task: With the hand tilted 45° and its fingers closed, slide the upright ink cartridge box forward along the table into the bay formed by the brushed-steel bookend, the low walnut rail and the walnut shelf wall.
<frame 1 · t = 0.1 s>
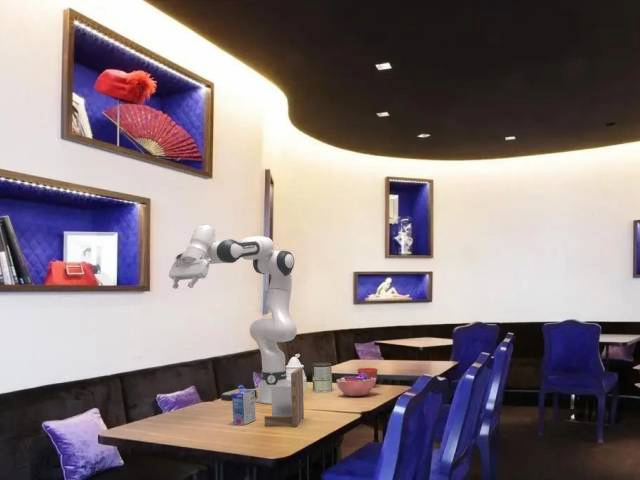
hand: (182, 287, 249), 54 cm above the table, tool tilted 30°, fingers open, 8 cm apart
ink cartridge box: (244, 423, 241), on the table
cell model: (356, 396, 298), on the table
coffee can: (322, 391, 317), on the table
steel bookend: (285, 419, 245), on the table
honey pot: (294, 388, 332), on the table
flower pot: (368, 387, 325), on the table
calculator: (239, 399, 301), on the table
walnut shelf: (283, 422, 239), on the table
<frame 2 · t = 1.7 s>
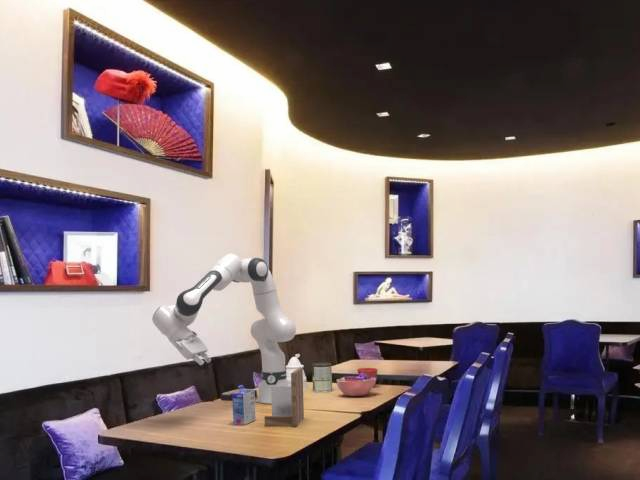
hand: (206, 362, 246), 24 cm above the table, tool tilted 45°, fingers open, 7 cm apart
nothing on the table moved.
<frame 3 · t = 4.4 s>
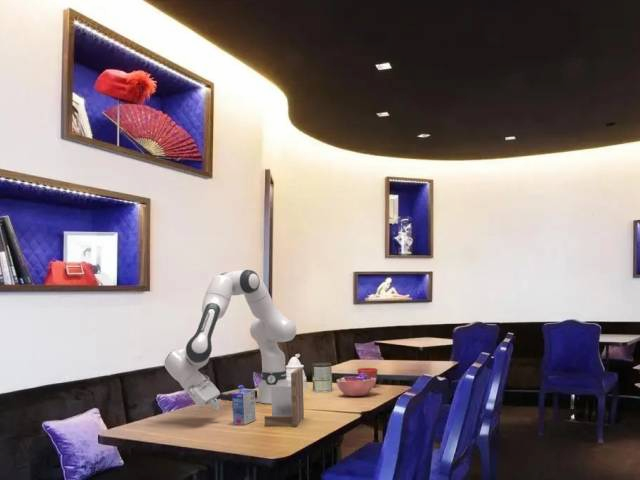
hand: (219, 408, 243), 5 cm above the table, tool tilted 45°, fingers closed
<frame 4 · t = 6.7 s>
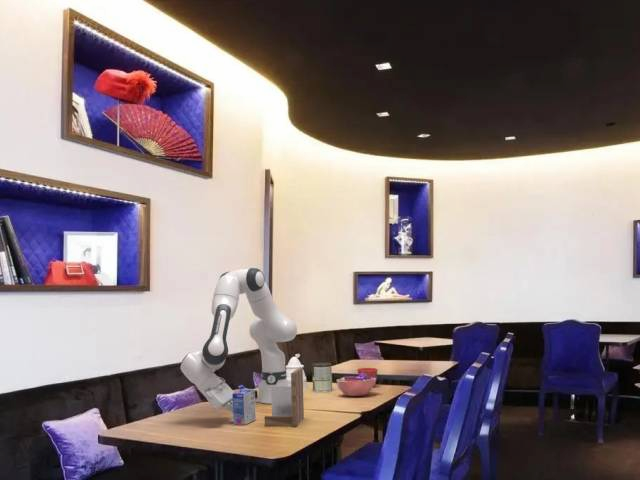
hand: (235, 411, 242), 4 cm above the table, tool tilted 45°, fingers closed
ink cartridge box: (244, 423, 241), on the table, touching gripper
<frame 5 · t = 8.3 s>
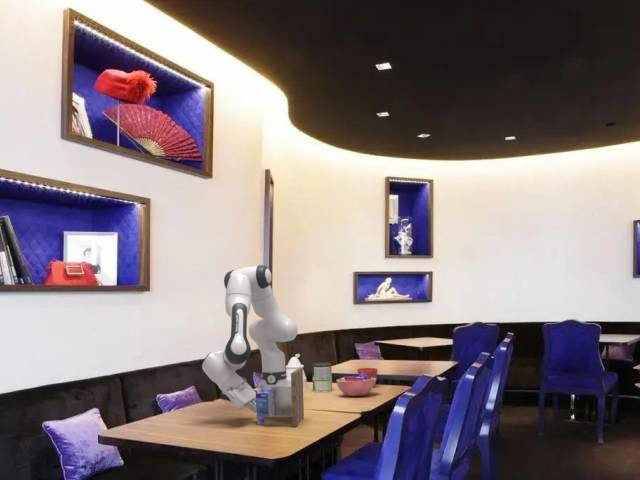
hand: (257, 411, 241), 4 cm above the table, tool tilted 45°, fingers closed, pressing on ink cartridge box
ink cartridge box: (265, 422, 240), on the table, touching gripper
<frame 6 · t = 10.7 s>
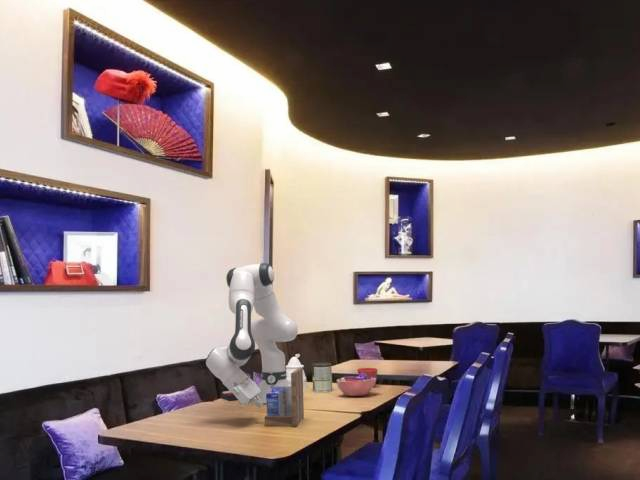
hand: (261, 406, 241), 6 cm above the table, tool tilted 45°, fingers closed
ink cartridge box: (276, 422, 240), on the table
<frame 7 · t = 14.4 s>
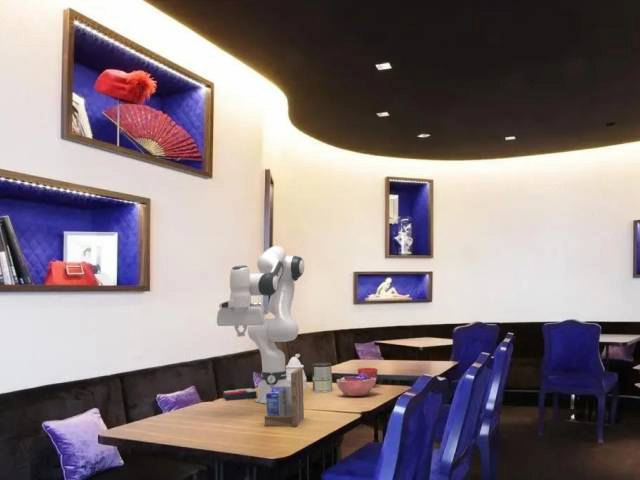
hand: (241, 336, 257), 33 cm above the table, tool pointing down, fingers closed
at the end: ink cartridge box inside the target area (2.3 cm from its centre), on the table; ink cartridge box tilted 0°; the gripper is holding nothing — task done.
